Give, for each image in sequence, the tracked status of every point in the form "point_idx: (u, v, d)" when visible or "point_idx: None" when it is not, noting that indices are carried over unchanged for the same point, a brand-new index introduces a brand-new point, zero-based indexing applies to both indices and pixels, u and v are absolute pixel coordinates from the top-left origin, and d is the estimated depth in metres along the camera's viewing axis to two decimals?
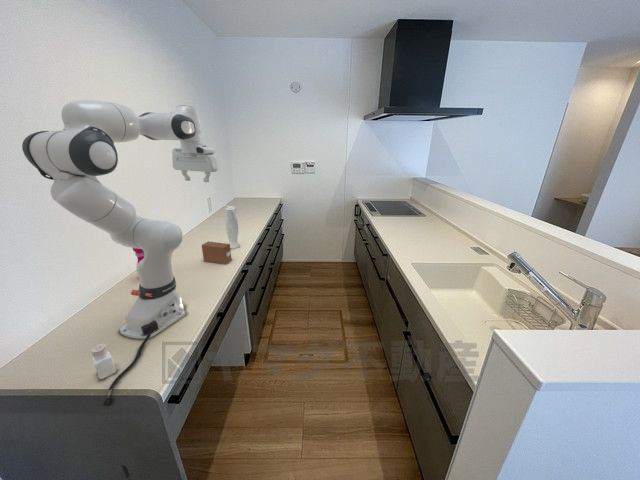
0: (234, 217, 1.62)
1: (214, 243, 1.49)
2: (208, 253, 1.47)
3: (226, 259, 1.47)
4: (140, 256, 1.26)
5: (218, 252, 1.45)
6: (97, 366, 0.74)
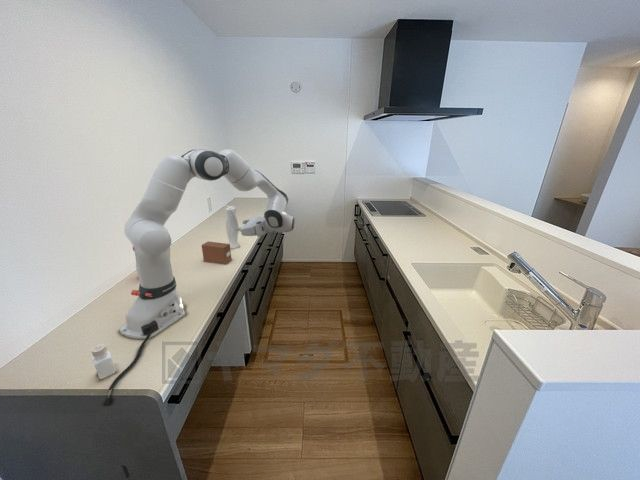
0: (234, 217, 1.62)
1: (214, 243, 1.49)
2: (208, 253, 1.47)
3: (226, 259, 1.47)
4: None
5: (218, 252, 1.45)
6: (97, 366, 0.74)
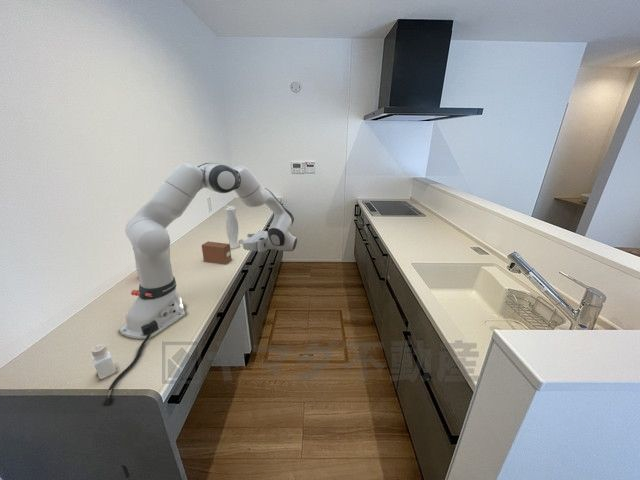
0: (234, 217, 1.62)
1: (214, 243, 1.49)
2: (208, 253, 1.47)
3: (226, 259, 1.47)
4: None
5: (218, 252, 1.45)
6: (97, 366, 0.74)
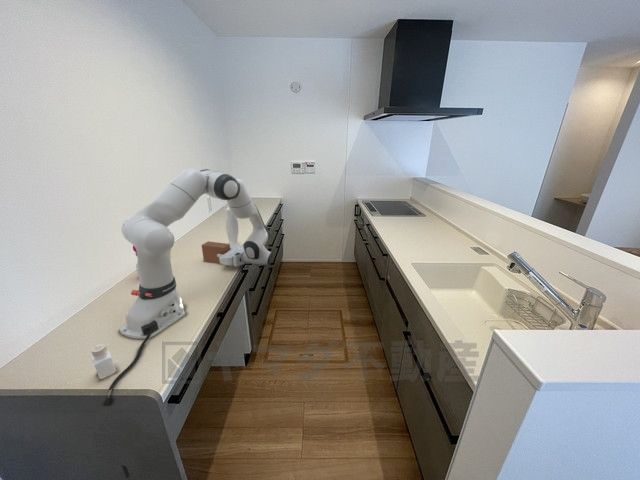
0: (234, 217, 1.62)
1: (214, 243, 1.49)
2: (208, 253, 1.47)
3: None
4: None
5: (218, 252, 1.45)
6: (97, 366, 0.74)
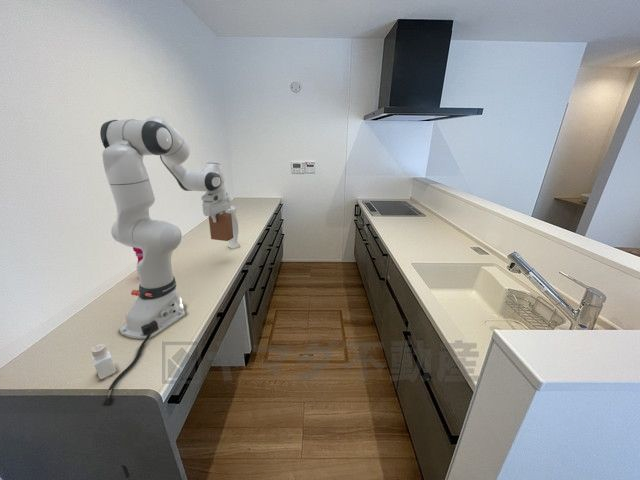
0: (234, 217, 1.62)
1: None
2: (218, 233, 1.41)
3: (221, 215, 1.38)
4: (140, 256, 1.26)
5: None
6: (97, 366, 0.74)
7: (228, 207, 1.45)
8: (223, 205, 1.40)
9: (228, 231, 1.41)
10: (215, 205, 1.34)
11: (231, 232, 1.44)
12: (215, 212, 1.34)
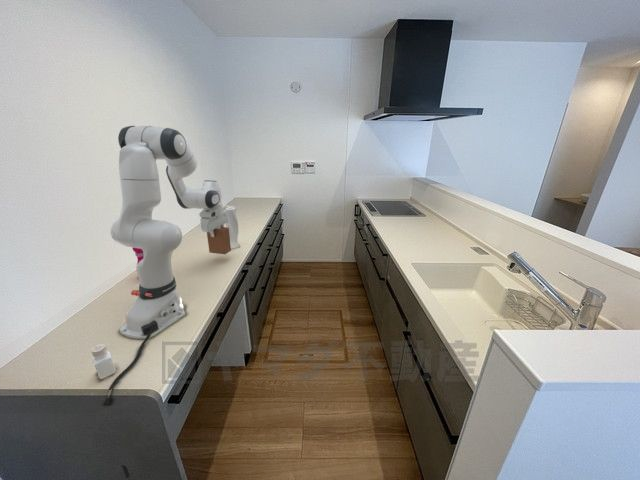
0: (234, 217, 1.62)
1: None
2: (216, 247, 1.46)
3: (219, 229, 1.42)
4: (140, 256, 1.26)
5: None
6: (97, 366, 0.74)
7: (225, 221, 1.49)
8: (220, 220, 1.45)
9: (226, 245, 1.46)
10: (213, 221, 1.39)
11: (229, 245, 1.49)
12: (213, 227, 1.39)
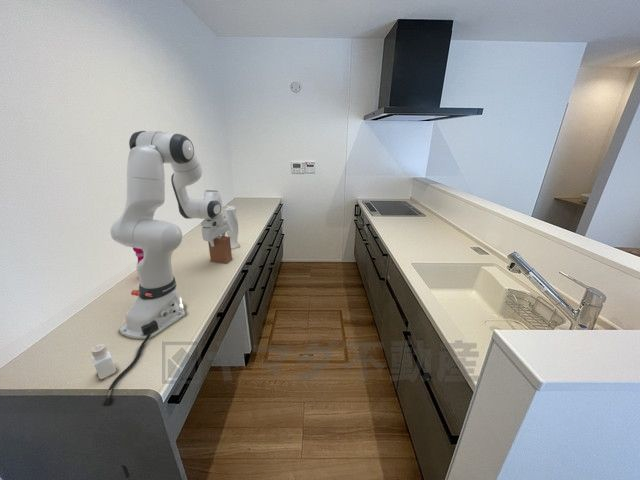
0: (234, 217, 1.62)
1: None
2: (217, 256, 1.48)
3: (220, 239, 1.44)
4: (140, 256, 1.26)
5: None
6: (97, 366, 0.74)
7: (226, 229, 1.51)
8: (221, 229, 1.47)
9: (227, 254, 1.48)
10: (214, 230, 1.40)
11: (230, 254, 1.51)
12: (214, 236, 1.41)
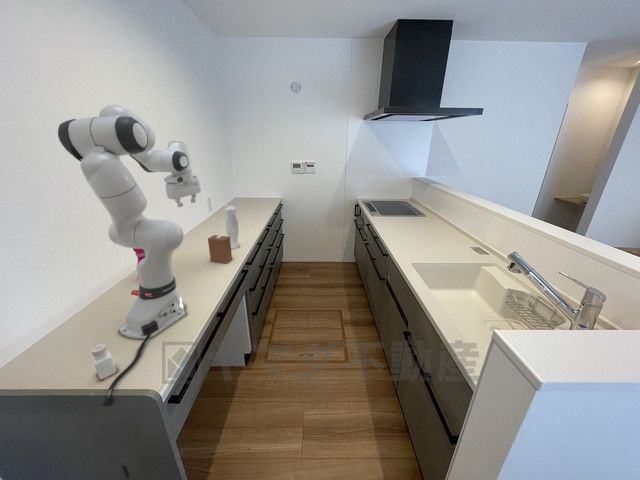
0: (234, 217, 1.62)
1: None
2: (217, 256, 1.48)
3: (220, 239, 1.44)
4: (140, 256, 1.26)
5: (213, 245, 1.46)
6: (97, 366, 0.74)
7: (196, 190, 1.36)
8: (190, 188, 1.32)
9: (227, 254, 1.48)
10: (180, 188, 1.26)
11: (230, 254, 1.51)
12: (180, 195, 1.26)
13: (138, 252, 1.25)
